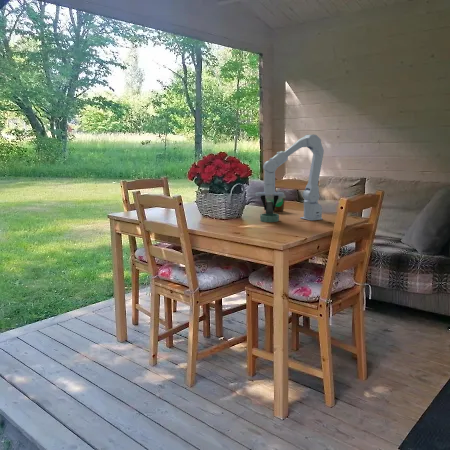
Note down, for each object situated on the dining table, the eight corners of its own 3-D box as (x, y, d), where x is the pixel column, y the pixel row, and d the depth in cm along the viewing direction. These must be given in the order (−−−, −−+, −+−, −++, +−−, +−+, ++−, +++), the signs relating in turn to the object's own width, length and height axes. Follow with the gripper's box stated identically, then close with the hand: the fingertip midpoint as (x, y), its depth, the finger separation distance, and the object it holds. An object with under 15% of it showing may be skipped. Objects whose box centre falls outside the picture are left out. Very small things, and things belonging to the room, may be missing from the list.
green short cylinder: (282, 220, 243) (282, 215, 243) (267, 222, 238) (267, 216, 238) (271, 218, 251) (271, 212, 251) (256, 219, 247) (256, 214, 246)
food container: (263, 212, 272) (263, 195, 270) (265, 210, 278) (265, 193, 276) (284, 212, 268) (284, 195, 266) (285, 211, 274) (286, 194, 272)
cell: (274, 213, 243) (274, 201, 242) (268, 214, 242) (268, 202, 241) (270, 212, 247) (270, 200, 246) (264, 212, 245) (264, 201, 244)
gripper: (283, 183, 244) (283, 208, 247) (255, 183, 246) (255, 208, 248) (283, 184, 238) (283, 211, 240) (255, 184, 239) (255, 210, 242)
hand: (269, 210), depth 244 cm, fingers closed on cell, 4 cm apart
